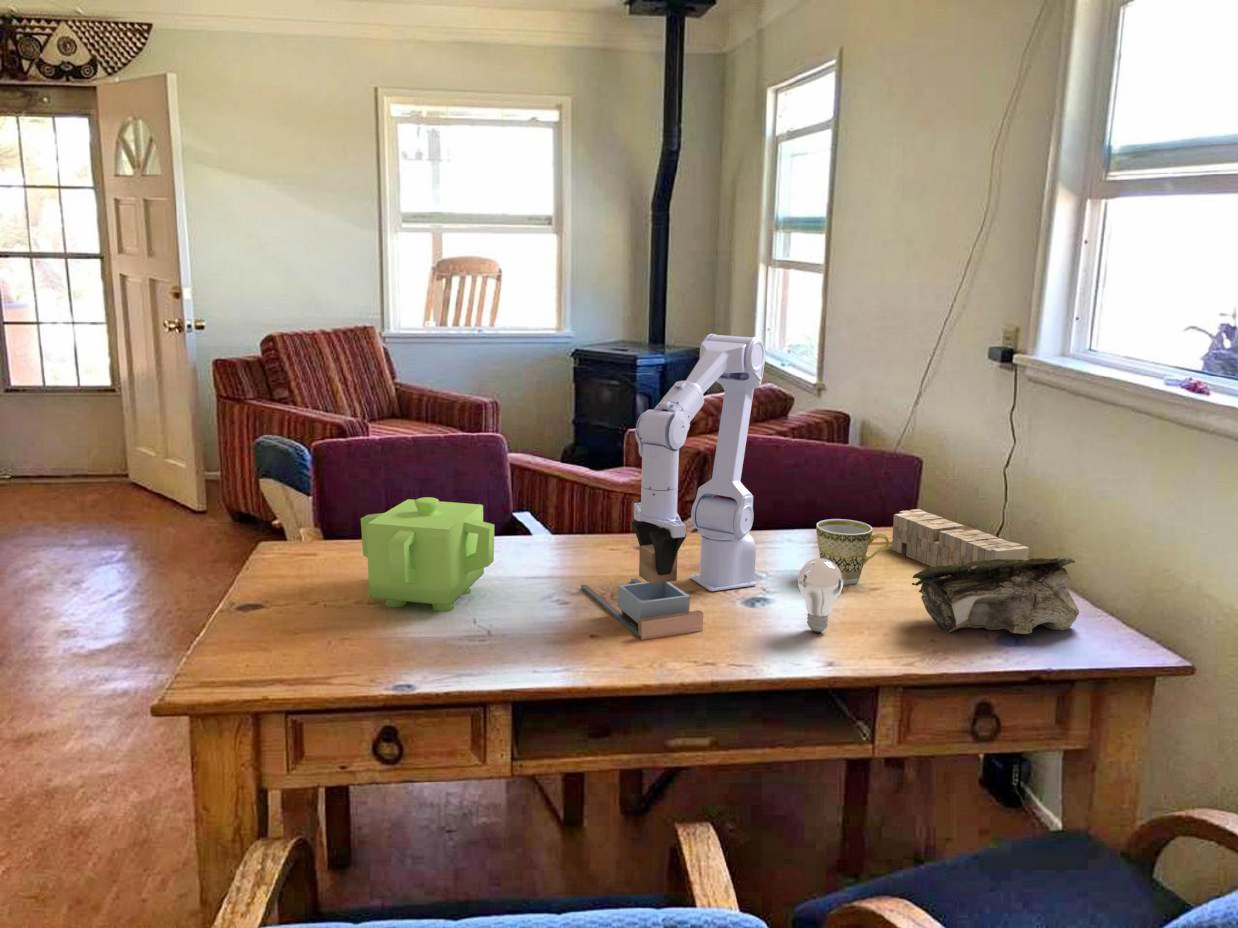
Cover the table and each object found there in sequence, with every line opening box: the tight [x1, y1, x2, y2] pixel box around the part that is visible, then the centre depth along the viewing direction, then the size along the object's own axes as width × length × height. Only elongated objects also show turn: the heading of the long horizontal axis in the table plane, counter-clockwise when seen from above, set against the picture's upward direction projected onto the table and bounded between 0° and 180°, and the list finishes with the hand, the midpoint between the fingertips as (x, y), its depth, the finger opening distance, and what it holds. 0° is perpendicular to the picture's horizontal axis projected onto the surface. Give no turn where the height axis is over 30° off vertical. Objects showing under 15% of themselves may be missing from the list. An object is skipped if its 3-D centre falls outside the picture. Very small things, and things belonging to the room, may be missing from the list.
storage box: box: [360, 496, 495, 613], centre depth 169 cm, size 25×23×17 cm
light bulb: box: [797, 557, 844, 634], centre depth 157 cm, size 7×7×12 cm
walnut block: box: [638, 544, 679, 584], centre depth 160 cm, size 4×4×5 cm
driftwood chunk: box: [911, 557, 1080, 635], centre depth 159 cm, size 28×13×15 cm
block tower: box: [891, 508, 1030, 567], centre depth 192 cm, size 8×8×29 cm
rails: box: [580, 577, 704, 641], centre depth 167 cm, size 11×25×3 cm, turn 24°
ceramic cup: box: [815, 518, 890, 586], centre depth 182 cm, size 13×10×10 cm
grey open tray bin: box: [617, 581, 691, 627], centre depth 162 cm, size 9×9×5 cm
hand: (657, 569), depth 161 cm, fingers closed on walnut block, 4 cm apart
